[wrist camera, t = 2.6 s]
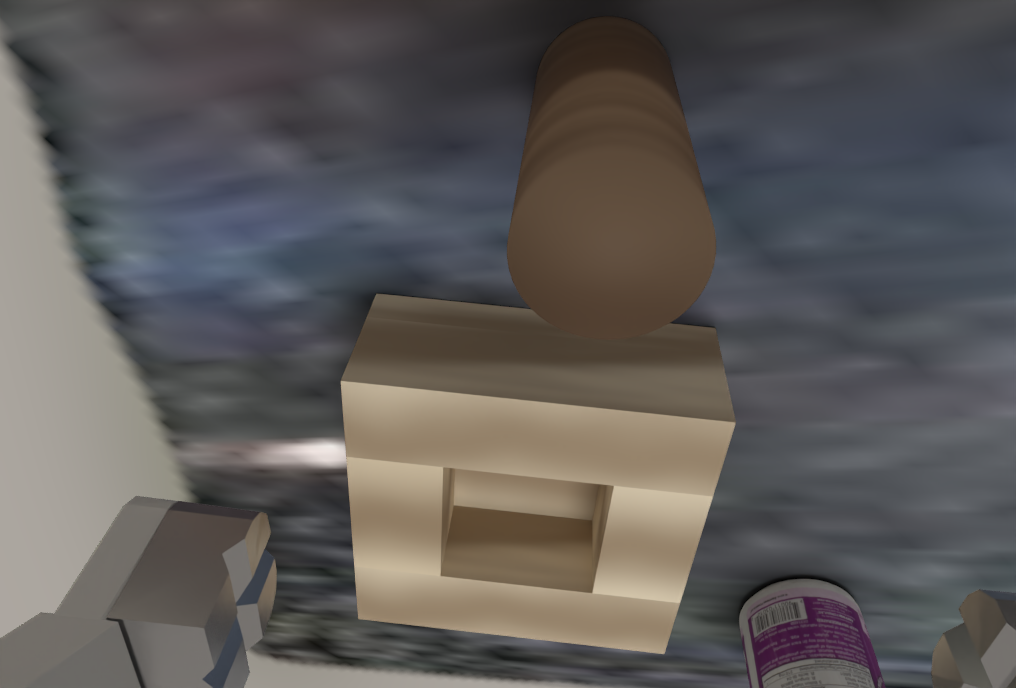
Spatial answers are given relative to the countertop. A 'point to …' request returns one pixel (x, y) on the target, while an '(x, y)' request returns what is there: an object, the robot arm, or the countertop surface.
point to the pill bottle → (807, 638)
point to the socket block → (529, 471)
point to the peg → (609, 188)
